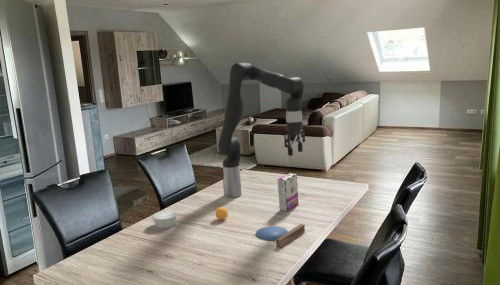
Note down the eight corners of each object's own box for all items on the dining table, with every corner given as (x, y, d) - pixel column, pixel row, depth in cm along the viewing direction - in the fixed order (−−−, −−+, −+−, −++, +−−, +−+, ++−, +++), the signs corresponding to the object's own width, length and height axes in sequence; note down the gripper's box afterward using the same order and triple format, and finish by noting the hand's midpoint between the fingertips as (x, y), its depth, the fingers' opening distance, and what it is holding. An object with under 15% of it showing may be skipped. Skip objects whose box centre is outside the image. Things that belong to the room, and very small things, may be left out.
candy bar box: (290, 203, 204) (289, 172, 201) (298, 204, 201) (297, 173, 198) (278, 210, 195) (277, 178, 192) (287, 212, 192) (285, 179, 189)
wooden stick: (276, 246, 157) (275, 239, 157) (300, 230, 171) (300, 223, 170) (280, 247, 156) (280, 240, 155) (304, 231, 169) (304, 224, 169)
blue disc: (249, 235, 169) (249, 235, 169) (268, 224, 179) (268, 223, 179) (275, 243, 160) (275, 243, 160) (294, 231, 170) (294, 230, 170)
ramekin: (172, 230, 180) (170, 219, 179) (149, 229, 183) (148, 219, 182) (181, 220, 191) (180, 210, 190) (159, 220, 193) (158, 210, 192)
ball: (213, 220, 189) (212, 208, 187) (221, 215, 193) (220, 204, 192) (222, 222, 185) (221, 210, 183) (230, 218, 189) (229, 206, 188)
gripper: (295, 117, 193) (297, 149, 196) (278, 122, 182) (280, 156, 185) (309, 118, 188) (310, 151, 191) (292, 123, 177) (293, 157, 181)
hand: (295, 153), depth 188 cm, fingers open, 8 cm apart
